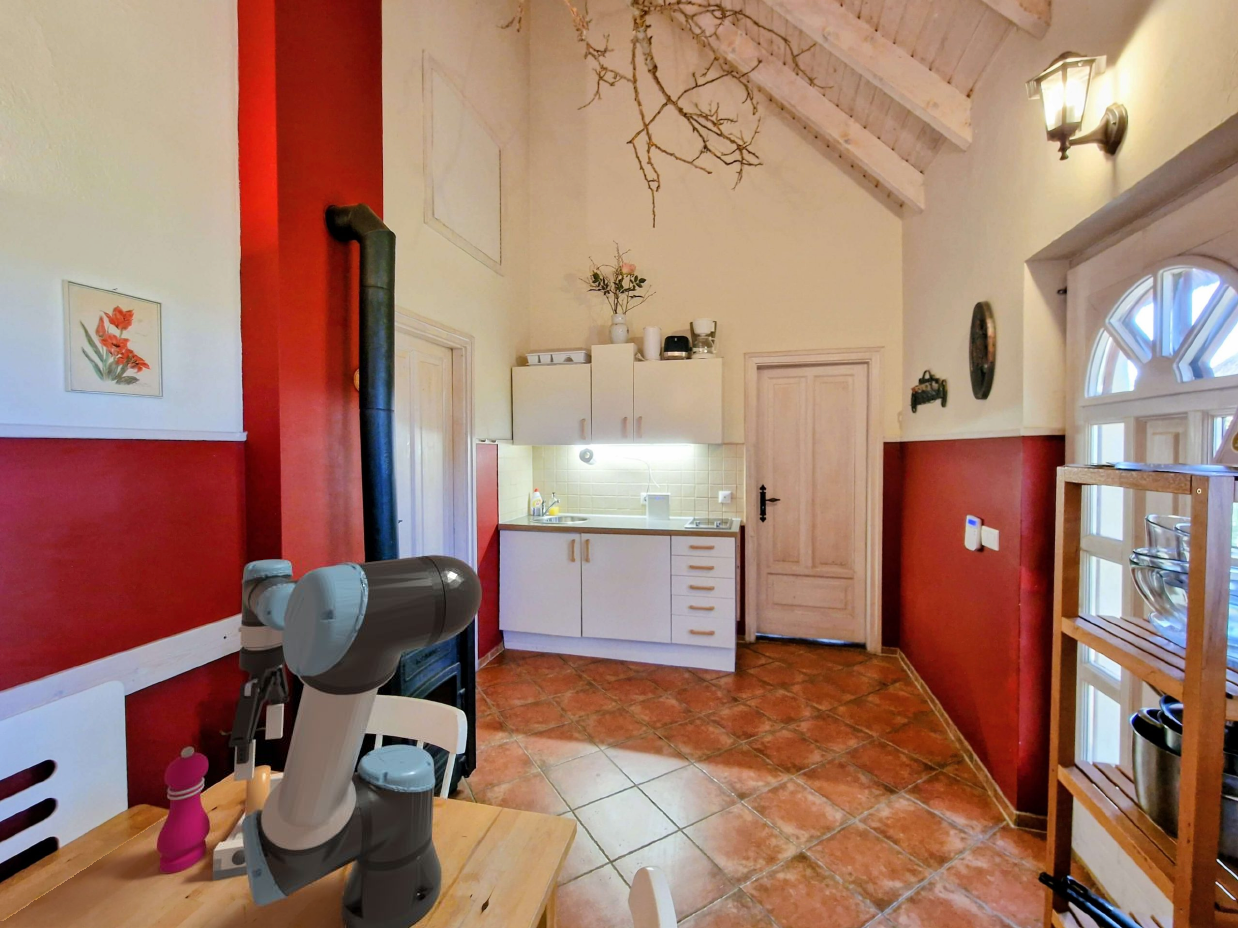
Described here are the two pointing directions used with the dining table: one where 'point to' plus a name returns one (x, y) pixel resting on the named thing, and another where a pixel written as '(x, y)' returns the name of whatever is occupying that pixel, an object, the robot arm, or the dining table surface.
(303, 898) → the dining table surface
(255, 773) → the carriage
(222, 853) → the rail track
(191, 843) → the pepper mill
